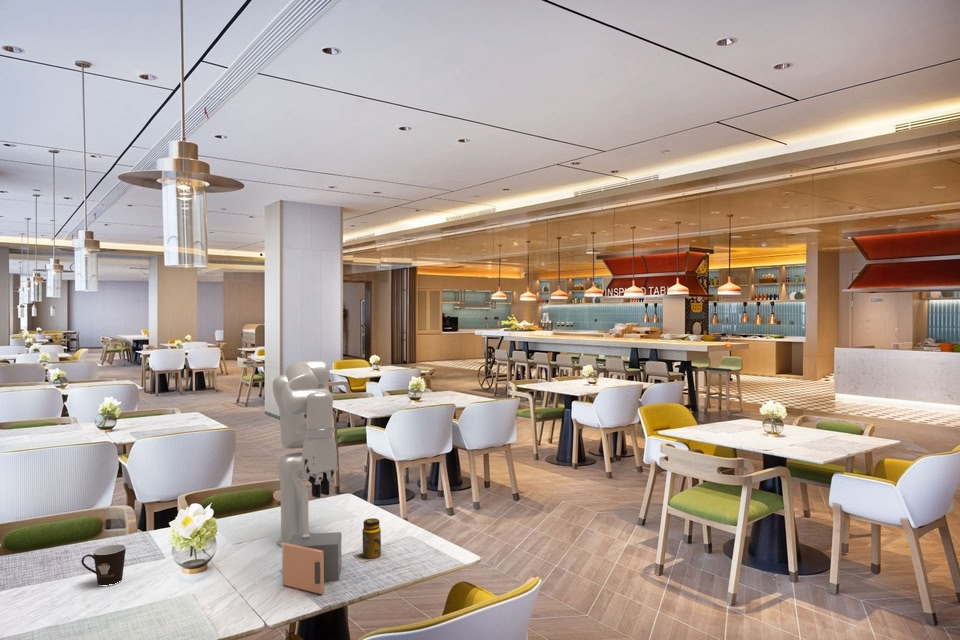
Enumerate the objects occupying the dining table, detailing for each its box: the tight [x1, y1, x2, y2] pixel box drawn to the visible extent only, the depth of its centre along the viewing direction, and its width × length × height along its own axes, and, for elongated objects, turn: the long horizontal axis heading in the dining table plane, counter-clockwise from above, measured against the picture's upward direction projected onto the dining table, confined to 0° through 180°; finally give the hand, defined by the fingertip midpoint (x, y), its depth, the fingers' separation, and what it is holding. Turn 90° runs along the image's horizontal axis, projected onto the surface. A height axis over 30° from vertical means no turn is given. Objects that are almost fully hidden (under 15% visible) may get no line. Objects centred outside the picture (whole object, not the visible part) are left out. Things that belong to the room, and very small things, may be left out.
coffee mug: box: [81, 544, 127, 585], centre depth 189 cm, size 12×9×10 cm
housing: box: [289, 531, 343, 582], centre depth 192 cm, size 11×15×12 cm
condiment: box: [353, 517, 386, 563], centre depth 207 cm, size 7×8×12 cm
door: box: [281, 543, 325, 595], centre depth 181 cm, size 2×15×12 cm, turn 63°
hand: (320, 495), depth 183 cm, fingers open, 2 cm apart
